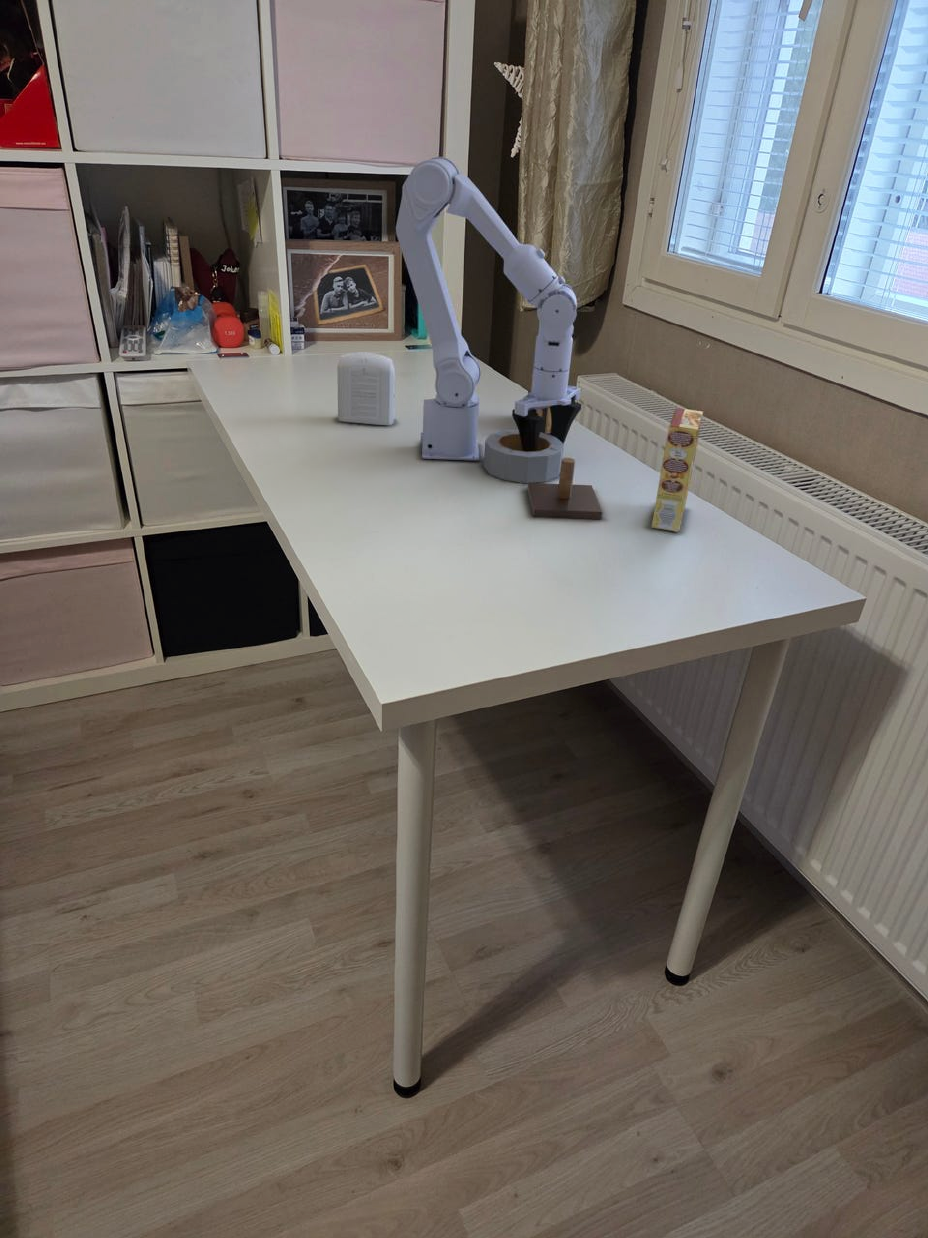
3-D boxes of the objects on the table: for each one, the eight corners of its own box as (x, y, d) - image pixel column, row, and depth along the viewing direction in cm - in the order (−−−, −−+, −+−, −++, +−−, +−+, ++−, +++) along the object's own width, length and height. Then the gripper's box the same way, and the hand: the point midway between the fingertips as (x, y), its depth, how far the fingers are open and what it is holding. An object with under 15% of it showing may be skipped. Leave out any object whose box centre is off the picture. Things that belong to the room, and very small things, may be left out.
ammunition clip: (552, 434, 154) (560, 368, 148) (543, 435, 154) (550, 368, 147) (534, 416, 163) (540, 352, 157) (525, 416, 162) (531, 352, 156)
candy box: (679, 533, 121) (700, 429, 113) (649, 528, 122) (668, 424, 114) (684, 510, 128) (705, 410, 120) (656, 505, 129) (674, 406, 121)
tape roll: (485, 481, 134) (487, 455, 131) (481, 452, 144) (483, 427, 142) (565, 484, 134) (569, 458, 132) (556, 455, 145) (559, 430, 143)
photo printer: (395, 419, 157) (396, 351, 150) (392, 427, 153) (393, 358, 147) (340, 415, 157) (338, 347, 151) (336, 423, 153) (334, 353, 147)
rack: (533, 516, 123) (538, 471, 119) (527, 489, 132) (531, 446, 128) (601, 519, 124) (608, 474, 120) (590, 492, 132) (596, 449, 128)
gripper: (542, 380, 127) (534, 466, 135) (599, 365, 137) (588, 445, 144) (507, 370, 131) (500, 453, 139) (564, 356, 141) (555, 434, 148)
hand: (543, 449), depth 141 cm, fingers open, 7 cm apart
